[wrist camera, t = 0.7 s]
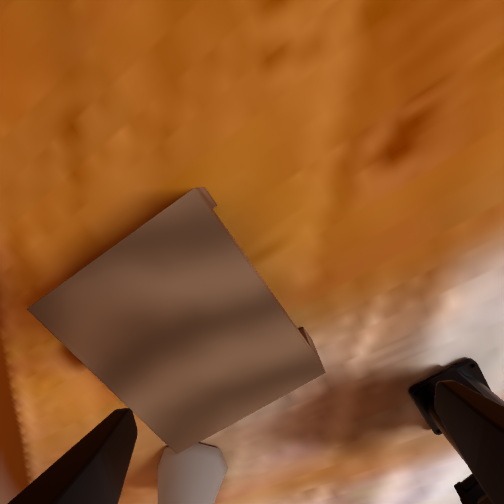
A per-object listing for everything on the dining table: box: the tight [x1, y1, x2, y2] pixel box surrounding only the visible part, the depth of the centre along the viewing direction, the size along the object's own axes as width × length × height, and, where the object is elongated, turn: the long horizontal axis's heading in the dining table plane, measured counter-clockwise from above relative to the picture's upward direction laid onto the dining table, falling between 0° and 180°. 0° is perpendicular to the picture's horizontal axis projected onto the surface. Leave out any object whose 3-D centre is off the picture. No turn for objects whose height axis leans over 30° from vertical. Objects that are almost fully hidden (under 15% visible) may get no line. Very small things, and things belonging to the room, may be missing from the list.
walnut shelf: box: [27, 187, 326, 454], centre depth 20 cm, size 16×14×4 cm
